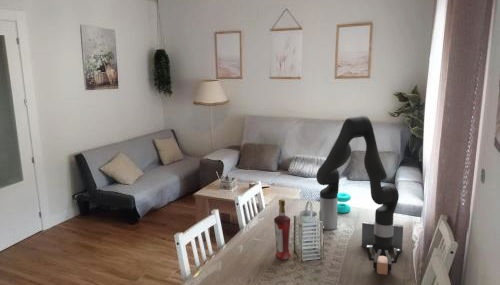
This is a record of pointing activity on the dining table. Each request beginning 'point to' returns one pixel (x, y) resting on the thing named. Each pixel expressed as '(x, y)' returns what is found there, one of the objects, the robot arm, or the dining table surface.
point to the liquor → (282, 233)
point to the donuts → (341, 206)
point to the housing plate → (369, 235)
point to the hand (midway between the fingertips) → (382, 270)
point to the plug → (382, 265)
